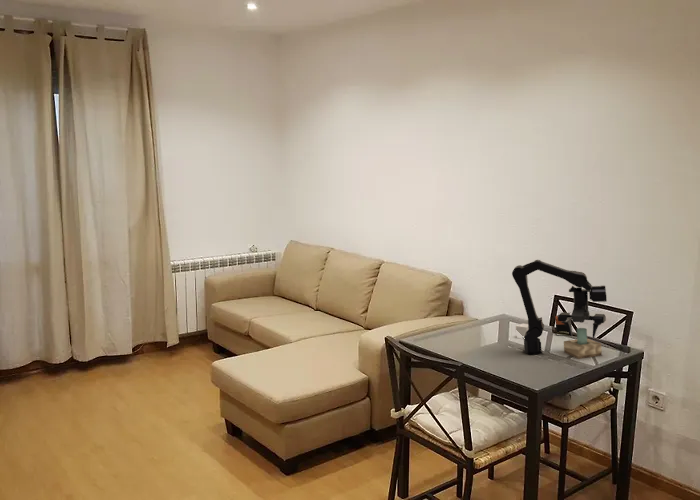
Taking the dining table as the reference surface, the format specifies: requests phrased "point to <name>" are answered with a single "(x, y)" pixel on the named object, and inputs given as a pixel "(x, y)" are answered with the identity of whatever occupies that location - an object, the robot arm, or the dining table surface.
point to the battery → (560, 325)
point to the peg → (581, 336)
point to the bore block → (582, 349)
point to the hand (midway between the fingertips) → (582, 337)
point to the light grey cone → (522, 328)
